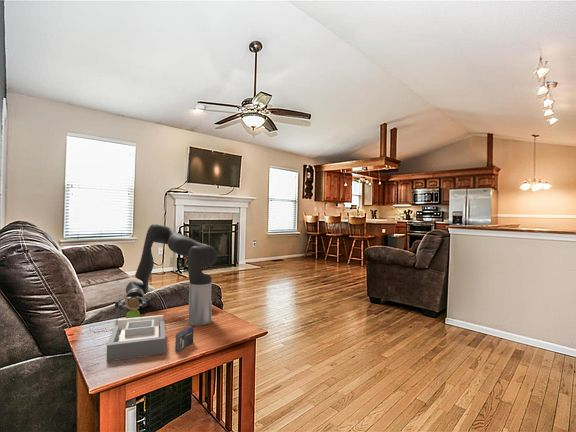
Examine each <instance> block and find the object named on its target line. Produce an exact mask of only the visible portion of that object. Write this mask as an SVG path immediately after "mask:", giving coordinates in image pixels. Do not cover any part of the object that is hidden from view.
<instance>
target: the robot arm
mask: <svg viewBox="0 0 576 432" xmlns="http://www.w3.org/2000/svg"><path fill="white" fill-rule="evenodd" d="M154 243H158V244H163V245H164V244H165V245H167V246H168V248H169V250H170V251H172V253H175V254H176V255H179V256H183V257H187V259H188V260H187V261H188V263H187V265H188V267H187V268H188V269H187V270H188V278H189V285H188V286H189V288H188V291H189V292H188V318H187V319H188V320H187V321H188V325H189V326H195V327H197V326H205V325H208V324H212V315H213V314H212V312H213V309H212V308H213V307H212V306H213V301H212V279H213V278H212V276H211V275H210V274H208V273H204V272H203V269H202V268H205V267H210V266H213V265H214V264H216V262H217V260H218V254H217V253H218V252H217V250H216V249H215V248H214V247H213V246H212V245H210V244H209V245H208V244H205V243H201V242H199V241H197V240H195V239H193V238H190V237H189V236H187V235H184V234H183V233H179V232H176V231H174V230H173V229H172V228H170V227H168V226H165V225H160V224H157V223H156V224H155V223H152V224H151V225H150V226H149V227H148V229H147V231H146V235H145V239H144V244H143V248H142V254H141V257H140V260H139V264H138V266H137V268H136V271H135V275H134V276H135V278H136V279H137V280H139V281H141V282H142V283H141V282H138V281H134V280H133V281H130V282H128V284H127V285H126V287H125V294H126V297H128V303H129V300H130V299H132V298H137V299H138V300H139V306H138V307H142V309H145V307H147V306H150V305H151V303H152V299H151V296H147V297H146V298H144V297H145V296H144V294H146V293H147V294H148V292H149V282H150V281H149V280H150V277H151V274H152V271H153V268H154V265H155V264H154V262H155V261H154V257H153V250H152V248H153V247H152V246H153V244H154ZM147 294H146V295H147ZM114 308H115V309H117V308H118V309H119V310H121V311H122V310H123V308H127V307H126V303H125V298H124V299H122V300H121V298H116V299H115V302H114Z"/></svg>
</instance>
